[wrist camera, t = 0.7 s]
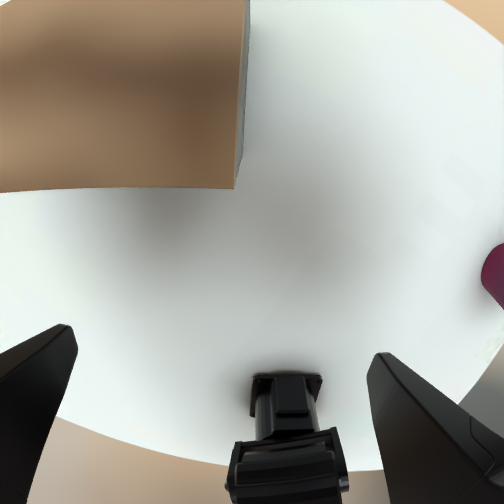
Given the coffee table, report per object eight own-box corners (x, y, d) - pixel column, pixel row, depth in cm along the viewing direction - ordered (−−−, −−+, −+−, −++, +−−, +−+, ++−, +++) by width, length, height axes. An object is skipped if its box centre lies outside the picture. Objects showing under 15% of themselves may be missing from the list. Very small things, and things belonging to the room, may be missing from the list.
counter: (242, 154, 19) (233, 189, 10) (20, 164, 18) (-70, 201, 9) (250, 23, 15) (249, -54, 6) (22, 58, 15) (-70, 54, 6)
